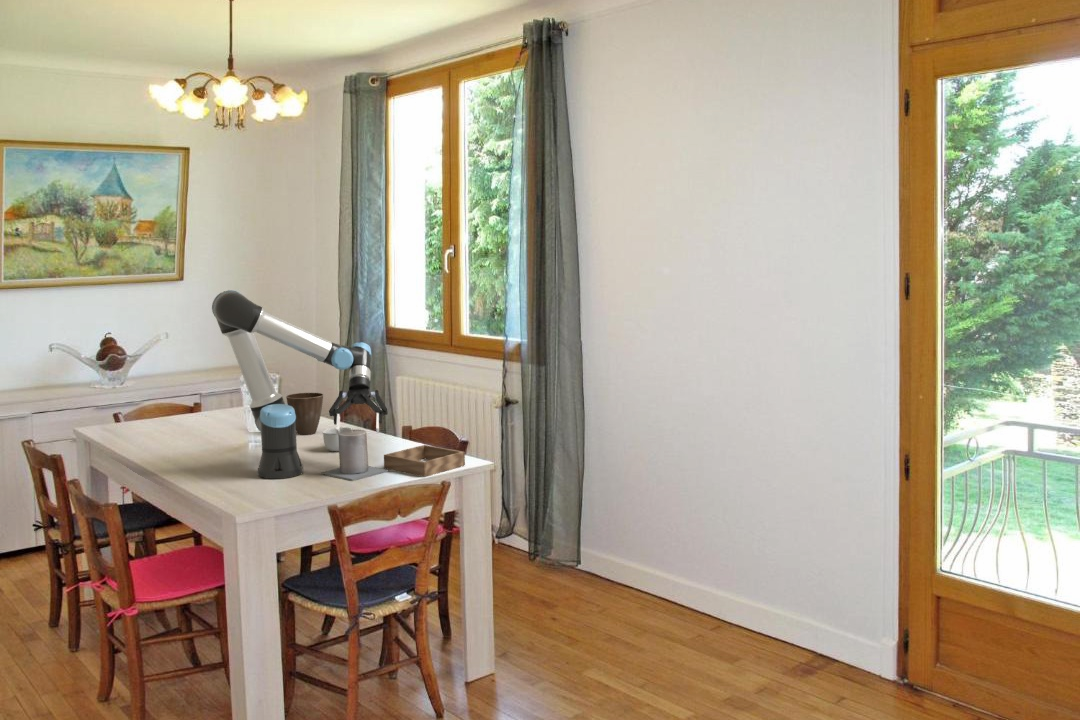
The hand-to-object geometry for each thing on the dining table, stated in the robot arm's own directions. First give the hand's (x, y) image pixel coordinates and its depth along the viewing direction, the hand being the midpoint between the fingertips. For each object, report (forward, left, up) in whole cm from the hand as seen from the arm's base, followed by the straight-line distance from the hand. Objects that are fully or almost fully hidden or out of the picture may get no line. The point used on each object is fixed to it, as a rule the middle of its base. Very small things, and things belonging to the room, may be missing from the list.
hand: (357, 431), depth 345 cm
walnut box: (+17, -15, -14) cm, 27 cm away
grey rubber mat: (-3, -1, -14) cm, 14 cm away
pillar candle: (-3, -1, -14) cm, 14 cm away
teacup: (+19, +33, -14) cm, 41 cm away
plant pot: (+31, +68, -14) cm, 76 cm away
